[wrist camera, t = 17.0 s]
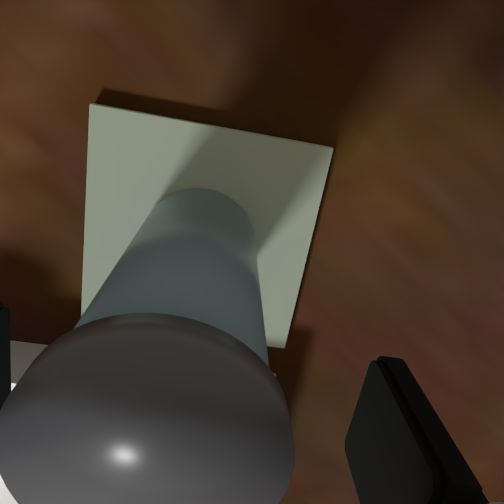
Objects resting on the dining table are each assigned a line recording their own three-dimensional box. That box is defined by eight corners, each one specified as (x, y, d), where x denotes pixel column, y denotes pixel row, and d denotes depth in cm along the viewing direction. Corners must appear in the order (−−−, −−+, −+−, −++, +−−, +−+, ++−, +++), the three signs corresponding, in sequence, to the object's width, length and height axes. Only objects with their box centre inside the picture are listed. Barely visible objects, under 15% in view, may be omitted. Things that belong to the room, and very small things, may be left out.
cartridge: (273, 194, 18) (327, 363, 7) (248, 306, 20) (262, 570, 9) (142, 170, 18) (-12, 313, 7) (130, 288, 20) (-2, 545, 9)
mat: (330, 146, 18) (333, 148, 18) (283, 341, 22) (284, 348, 21) (94, 103, 17) (89, 103, 17) (84, 315, 21) (80, 321, 20)
